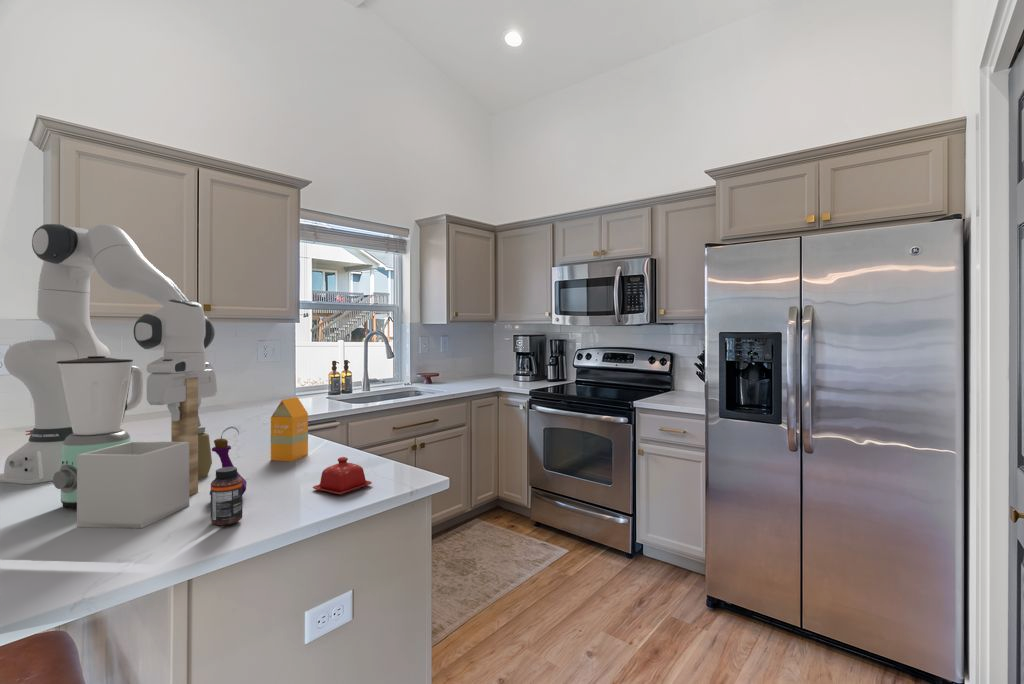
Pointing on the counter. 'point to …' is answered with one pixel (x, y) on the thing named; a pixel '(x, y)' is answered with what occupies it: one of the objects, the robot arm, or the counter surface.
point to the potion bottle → (226, 455)
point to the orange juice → (289, 431)
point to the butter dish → (342, 477)
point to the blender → (94, 411)
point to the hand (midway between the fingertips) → (184, 418)
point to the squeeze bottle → (203, 452)
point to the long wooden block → (189, 430)
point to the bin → (132, 484)
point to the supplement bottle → (226, 497)
